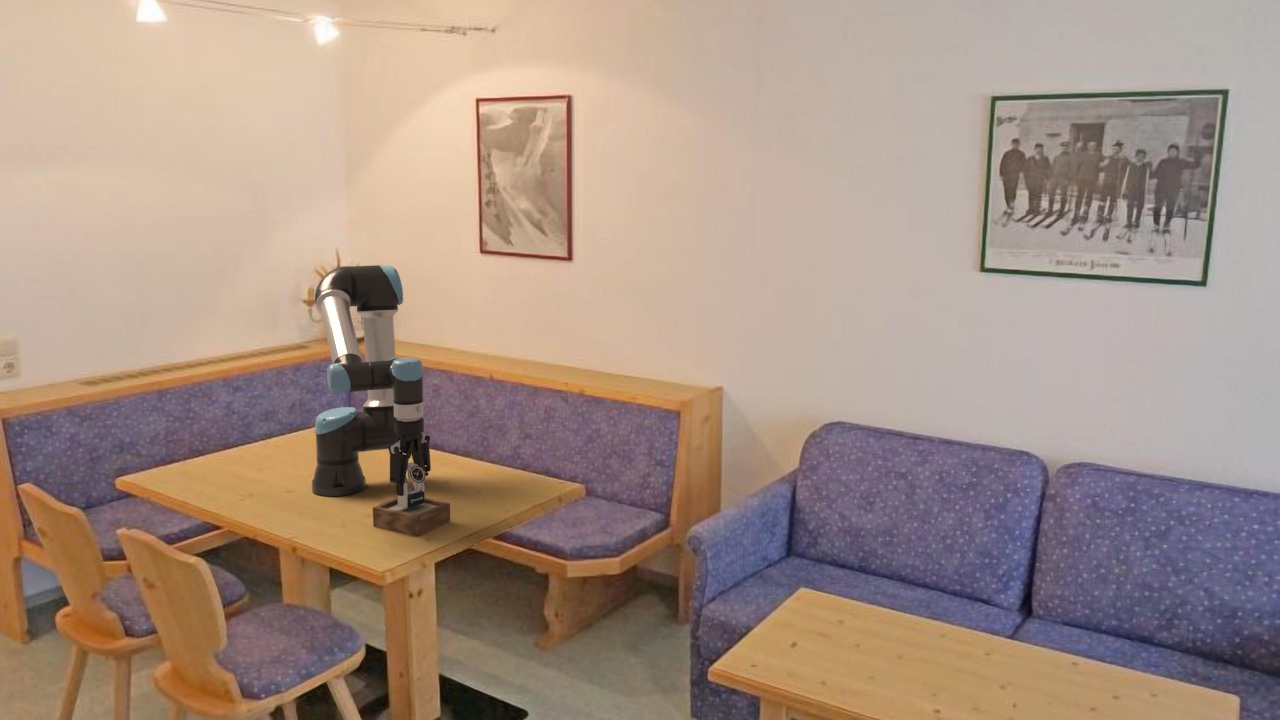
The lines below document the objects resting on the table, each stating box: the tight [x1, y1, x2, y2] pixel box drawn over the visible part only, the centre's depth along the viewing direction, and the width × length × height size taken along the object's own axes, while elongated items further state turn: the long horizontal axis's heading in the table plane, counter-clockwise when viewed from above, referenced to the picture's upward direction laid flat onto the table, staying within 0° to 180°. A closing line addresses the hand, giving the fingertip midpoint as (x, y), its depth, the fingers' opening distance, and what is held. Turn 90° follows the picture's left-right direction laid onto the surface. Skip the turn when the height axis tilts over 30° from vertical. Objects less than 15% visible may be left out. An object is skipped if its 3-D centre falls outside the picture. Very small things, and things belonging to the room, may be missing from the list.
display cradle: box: [372, 497, 451, 538], centre depth 263 cm, size 15×13×5 cm
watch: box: [396, 462, 427, 508], centre depth 262 cm, size 6×8×11 cm
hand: (411, 502), depth 263 cm, fingers closed on watch, 6 cm apart
